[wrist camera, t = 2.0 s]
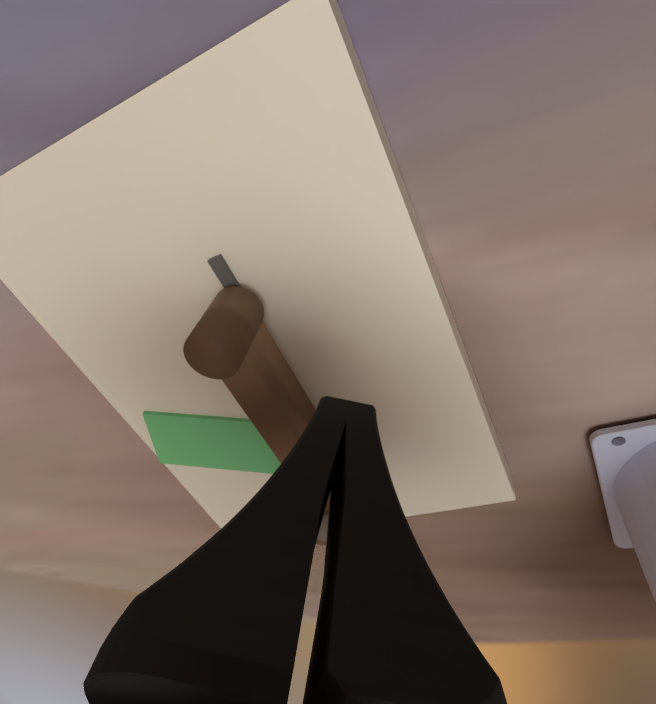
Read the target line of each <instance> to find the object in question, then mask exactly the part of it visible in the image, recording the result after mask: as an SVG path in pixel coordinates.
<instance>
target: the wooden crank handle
mask: <svg viewBox="0 0 656 704" xmlns="http://www.w3.org/2000/svg"><path fill="white" fill-rule="evenodd" d="M263 318H264V307H263V305H262V303H261V301H260V299H259V298H258V297H257V296H256V295H255V294H254V293H253V292H251V291H250V290H248V289H246V288H243V287H238V286H231V287H226V288H224V289H222V290H221V291H220V292H219V293H218V294H217V295H216V297H215V298H214V300H213V301H212V303H211V304H210V305H209V307H208V308H207V310H206V311H205V313H204V314H203V316H202V317H201V319H200V320H199V322H198V323H197V324H196V326H195V327H194V329H193V330H192V332H191V333H190V335H189V336H188V338H187V339H186V341H185V343H184V346H183V353H184V356H185V359H186V361H187V362H188V364H189V365H190V366H191V367H192V368H193V369H194V370H195V371H196V372H198V373H199V374H201V375H203V376H205V377H208V378H212V379H221V380H222V381H223V382H224V384H225V385H226V387H227V388H228V389H229V391H230V392H231V394H232V395H233V396H234V398H235V399H236V401H237V402H238V404H239V405H240V406H241V408H242V409H243V411H244V412H245V413H246V415H247V416H248V418H249V419H250V420H251V422H252V423H253V425H254V426H255V428H256V429H257V430H258V432H259V433H260V435H261V436H262V437H263V439H264V440H265V442H266V443H267V445H268V446H269V447H270V449H271V450H272V452H273V453H274V454H275V456H276V457H277V459H278V460H279V461H280V463H282V462H283V461H284V459H285V458H286V457H287V455H288V454H289V453H290V451H291V450H292V448H293V447H294V445H295V444H296V443H297V441H298V440H299V438H300V437H301V435H302V434H303V432H304V430H305V429H306V427H307V425H308V424H309V422H310V420H311V419H312V417H313V415H314V413H315V411H316V409H315V407H314V406H313V404H312V402H311V401H310V399H309V397H308V396H307V394H306V392H305V391H304V389H303V388H302V386H301V384H300V383H299V381H298V379H297V378H296V376H295V374H294V373H293V371H292V369H291V368H290V366H289V364H288V363H287V361H286V359H285V358H284V356H283V355H282V353H281V351H280V350H279V348H278V346H277V345H276V343H275V341H274V340H273V338H272V336H271V335H270V333H269V331H268V330H267V328H266V326H265V325H264V323H263V322H262V321H263ZM330 492H331V491H330ZM329 504H330V494H329V498H328V501H327V505H326V509H325V512H324V516H323V519H322V523H321V526H320V530H319V534H318V537H317V541H316V544H319V545H326V542H327V529H328V516H329Z"/></svg>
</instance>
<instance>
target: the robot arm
mask: <svg viewBox="0 0 656 704" xmlns="http://www.w3.org/2000/svg"><path fill="white" fill-rule="evenodd" d="M616 437H620V438H617V439H614V438H616ZM589 441H590V445H591V450H592V454H593V458H594V462H595V466H596V471H597V475H598V479H599V483H600V488H601V492H602V496H603V500H604V504H605V509H606V513H607V517H608V521H609V526H610V530H611V534H612V538H613V541H614V544H615V545H616V546H617V547H619V548H623V549H628V548H634V549H635V552H636V555H637V557H638V560H639V562H640V565H641V567H642V570H643V572H644V575H645V577H646V580H647V582H648V585H649V587H650V590H651V592H652V595H653V598H654V600H655V603H656V419H651V420H646V421H641V422H636V423H630V424H625V425H620V426H615V427H609V428H604V429H599V430H596V431H595V432H593V433H592V434H591V435H590V437H589ZM330 491H331V492H330ZM329 494H330V504H329V516H328V529H327V542H326V554H325V567H324V577H323V586H322V593H321V599H320V605H319V611H318V617H317V623H316V629H315V635H314V641H313V647H312V653H311V659H310V664H309V670H308V676H307V682H306V688H305V693H304V699H303V704H507V702H506V698H505V695H504V692H503V688H502V685H501V682H500V679H499V677H498V676H497V674H496V673H495V672H494V670H493V669H492V667H491V666H490V665H489V663H488V662H487V660H486V659H485V658H484V656H483V655H482V653H481V652H480V650H479V649H478V647H477V646H476V644H475V643H474V641H473V640H472V638H471V637H470V635H469V634H468V632H467V631H466V629H465V628H464V626H463V624H462V623H461V621H460V620H459V618H458V616H457V615H456V613H455V612H454V610H453V609H452V607H451V605H450V604H449V602H448V600H447V598H446V596H445V595H444V593H443V591H442V589H441V588H440V586H439V584H438V582H437V581H436V579H435V577H434V575H433V573H432V572H431V570H430V568H429V566H428V564H427V562H426V560H425V558H424V556H423V554H422V552H421V550H420V548H419V546H418V544H417V542H416V540H415V538H414V535H413V533H412V531H411V529H410V527H409V524H408V522H407V520H406V517H405V515H404V512H403V510H402V507H401V505H400V502H399V499H398V497H397V494H396V491H395V488H394V485H393V482H392V479H391V476H390V473H389V469H388V466H387V463H386V460H385V456H384V452H383V448H382V444H381V440H380V435H379V430H378V424H377V417H376V409H375V408H374V406H373V405H369V404H364V403H359V402H354V401H350V400H345V399H340V398H335V397H330V396H324V397H322V398H321V399H320V401H319V404H318V407H317V409H316V411H315V413H314V415H313V417H312V419H311V420H310V422H309V424H308V425H307V427H306V429H305V430H304V432H303V434H302V435H301V437H300V438H299V440H298V441H297V443H296V444H295V445H294V447H293V448H292V450H291V451H290V453H289V454H288V455H287V457H286V458H285V459H284V461H283V462H282V463H281V464H280V466H279V467H278V468H277V470H276V471H275V472H274V473H273V475H272V476H271V477H270V478H269V480H268V481H267V482H266V483H265V484H264V485H263V487H262V488H261V489H260V490H259V491H258V492H257V493H256V494H255V495H254V497H253V498H252V499H251V500H250V501H249V502H248V503H247V504H246V505H245V506H244V507H243V508H242V509H241V510H240V511H239V512H238V513H237V514H236V515H235V516H234V517H233V518H232V519H231V520H230V521H229V522H228V523H227V524H226V525H225V526H224V527H223V528H222V529H221V530H219V531H218V532H217V533H216V534H215V535H214V536H213V537H212V538H210V539H209V540H208V541H207V542H206V543H205V544H203V545H202V546H201V547H200V548H199V549H197V550H196V551H195V552H194V553H193V554H192V555H190V556H189V557H188V558H187V559H186V560H184V561H183V562H182V563H181V564H179V565H178V566H177V567H176V568H174V569H173V570H172V571H170V572H169V573H168V574H166V575H165V576H164V577H162V578H161V579H159V580H158V581H157V582H155V583H154V584H153V585H151V586H150V587H149V588H147V589H146V590H145V591H143V592H142V593H140V594H139V595H138V596H136V597H135V598H134V600H133V601H132V602H131V603H130V605H129V606H128V607H127V609H126V610H125V611H124V613H123V614H122V615H121V617H120V618H119V620H118V621H117V622H116V624H115V625H114V627H113V628H112V630H111V631H110V633H109V635H108V636H107V638H106V639H105V641H104V643H103V644H102V646H101V648H100V650H99V652H98V654H97V656H96V658H95V660H94V662H93V664H92V667H91V669H90V671H89V673H88V675H87V677H86V679H85V681H84V691H85V695H86V697H87V699H88V702H89V704H287V701H288V695H289V690H290V684H291V679H292V673H293V668H294V662H295V656H296V650H297V644H298V638H299V633H300V627H301V621H302V615H303V609H304V604H305V598H306V592H307V586H308V581H309V575H310V569H311V564H312V558H313V552H314V548H315V544H316V541H317V537H318V534H319V530H320V526H321V523H322V519H323V516H324V512H325V509H326V505H327V501H328V498H329Z"/></svg>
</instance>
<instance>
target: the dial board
mask: <svg viewBox="0 0 656 704" xmlns="http://www.w3.org/2000/svg"><path fill="white" fill-rule="evenodd" d="M0 279H1V280H2V281H3V282H4V284H5V285H6V286H7V287H8V288H9V289H10V290H11V292H12V293H13V294H14V295H15V296H16V297H17V298H18V299H19V301H20V302H21V303H22V304H23V305H24V306H25V307H26V309H27V310H28V311H29V312H30V313H31V314H32V315H33V316H34V318H35V319H36V320H37V321H38V322H39V323H40V324H41V325H42V327H43V328H44V329H45V330H46V331H47V332H48V333H49V335H50V336H51V337H52V338H53V339H54V340H55V341H56V342H57V344H58V345H59V346H60V347H61V348H62V349H63V350H64V351H65V353H66V354H67V355H68V356H69V357H70V358H71V359H72V361H73V362H74V363H75V364H76V365H77V366H78V367H79V368H80V370H81V371H82V372H83V373H84V374H85V375H86V376H87V378H88V379H89V380H90V381H91V382H92V383H93V384H94V385H95V387H96V388H97V389H98V390H99V391H100V392H101V393H102V394H103V396H104V397H105V398H106V399H107V400H108V401H109V402H110V404H111V405H112V406H113V407H114V408H115V409H116V410H117V411H118V413H119V414H120V415H121V416H122V417H123V418H124V419H125V420H126V422H127V423H128V424H129V425H130V426H131V427H132V428H133V430H134V431H135V432H136V433H137V434H138V435H139V436H140V437H141V439H142V440H143V441H144V442H145V443H146V444H147V445H148V447H149V448H150V449H151V450H152V451H153V452H154V453H155V454H156V456H157V457H158V460H159V463H163V464H164V465H165V466H166V467H167V468H168V469H169V470H170V471H171V473H172V474H173V475H174V476H175V477H176V478H177V479H178V480H179V482H180V483H181V484H182V485H183V486H184V487H185V488H186V490H187V491H188V492H189V493H190V494H191V495H192V496H193V497H194V499H195V500H196V501H197V502H198V503H199V504H200V505H201V506H202V508H203V509H204V510H205V511H206V512H207V513H208V514H209V516H210V517H211V518H212V519H213V520H214V521H215V522H216V523H217V525H218V526H219V527H220V528H221V529H222V528H223V527H224V526H225V525H226V524H227V523H228V522H229V521H230V520H231V519H232V518H233V517H234V516H235V515H236V514H237V513H238V512H239V511H240V510H241V509H242V508H243V507H244V506H245V505H246V504H247V503H248V502H249V501H250V500H251V499H252V498H253V497H254V495H255V494H256V493H257V492H258V491H259V490H260V489H261V488H262V487H263V485H264V484H265V483H266V482H267V481H268V480H269V478H270V477H271V476H272V475H273V473H274V472H275V471H276V470H277V468H278V467H279V466H280V464H281V463H280V461H279V460H278V459H277V457H276V456H275V454H274V453H273V452H272V450H271V449H270V447H269V446H268V445H267V443H266V442H265V440H264V439H263V437H262V436H261V435H260V433H259V432H258V430H257V429H256V428H255V426H254V425H253V423H252V422H251V420H250V419H249V418H248V416H247V415H246V413H245V412H244V411H243V409H242V408H241V406H240V405H239V404H238V402H237V401H236V399H235V398H234V396H233V395H232V394H231V392H230V391H229V389H228V388H227V387H226V385H225V384H224V382H223V381H222V380H221V379H212V378H208V377H205V376H203V375H201V374H199V373H198V372H196V371H195V370H194V369H193V368H192V367H191V366H190V365H189V364H188V362H187V361H186V359H185V356H184V353H183V346H184V343H185V341H186V339H187V338H188V336H189V335H190V333H191V332H192V330H193V329H194V327H195V326H196V324H197V323H198V322H199V320H200V319H201V317H202V316H203V314H204V313H205V311H206V310H207V308H208V307H209V305H210V304H211V303H212V301H213V300H214V298H215V297H216V295H217V294H218V293H219V292H220V291H221V290H222V289H224V288H226V287H231V286H238V287H243V288H246V289H248V290H250V291H251V292H253V293H254V294H255V295H256V296H257V297H258V298H259V299H260V301H261V303H262V305H263V307H264V318H263V321H262V322H263V323H264V325H265V326H266V328H267V330H268V331H269V333H270V335H271V336H272V338H273V340H274V341H275V343H276V345H277V346H278V348H279V350H280V351H281V353H282V355H283V356H284V358H285V359H286V361H287V363H288V364H289V366H290V368H291V369H292V371H293V373H294V374H295V376H296V378H297V379H298V381H299V383H300V384H301V386H302V388H303V389H304V391H305V392H306V394H307V396H308V397H309V399H310V401H311V402H312V404H313V406H314V407H315V409H317V407H318V404H319V401H320V399H321V398H322V397H324V396H330V397H335V398H340V399H345V400H350V401H354V402H359V403H364V404H369V405H373V406H374V408H375V409H376V417H377V424H378V430H379V435H380V440H381V444H382V448H383V452H384V456H385V460H386V463H387V466H388V469H389V473H390V476H391V479H392V482H393V485H394V488H395V491H396V494H397V497H398V499H399V502H400V505H401V507H402V510H403V512H404V515H405V517H408V516H414V515H421V514H428V513H434V512H441V511H447V510H454V509H461V508H467V507H474V506H480V505H487V504H494V503H500V502H507V501H513V500H516V497H515V492H514V487H513V482H512V477H511V473H510V470H509V467H508V464H507V462H506V459H505V456H504V454H503V451H502V448H501V445H500V443H499V440H498V437H497V435H496V432H495V429H494V426H493V424H492V421H491V418H490V416H489V413H488V410H487V407H486V405H485V402H484V399H483V397H482V394H481V391H480V388H479V386H478V383H477V380H476V378H475V375H474V372H473V369H472V367H471V364H470V361H469V359H468V356H467V353H466V350H465V348H464V345H463V342H462V340H461V337H460V334H459V331H458V329H457V326H456V323H455V321H454V318H453V315H452V312H451V310H450V307H449V304H448V302H447V299H446V296H445V293H444V291H443V288H442V285H441V283H440V280H439V277H438V274H437V272H436V269H435V266H434V263H433V261H432V258H431V255H430V253H429V250H428V247H427V244H426V242H425V239H424V236H423V234H422V231H421V228H420V225H419V223H418V220H417V217H416V215H415V212H414V209H413V206H412V204H411V201H410V198H409V196H408V193H407V190H406V187H405V185H404V182H403V179H402V177H401V174H400V171H399V168H398V166H397V163H396V160H395V158H394V155H393V152H392V149H391V147H390V144H389V141H388V139H387V136H386V133H385V130H384V128H383V125H382V122H381V120H380V117H379V114H378V111H377V109H376V106H375V103H374V101H373V98H372V95H371V92H370V90H369V87H368V84H367V82H366V79H365V76H364V73H363V71H362V68H361V65H360V63H359V60H358V57H357V54H356V52H355V49H354V46H353V44H352V41H351V38H350V35H349V33H348V30H347V27H346V24H345V22H344V19H343V16H342V14H341V11H340V8H339V5H338V3H337V0H291V1H289V2H287V3H286V4H284V5H282V6H281V7H279V8H277V9H276V10H274V11H272V12H271V13H269V14H268V15H266V16H264V17H263V18H261V19H259V20H258V21H256V22H254V23H253V24H251V25H249V26H248V27H246V28H244V29H243V30H241V31H239V32H238V33H236V34H234V35H233V36H231V37H230V38H228V39H226V40H225V41H223V42H221V43H220V44H218V45H216V46H215V47H213V48H211V49H210V50H208V51H206V52H205V53H203V54H201V55H200V56H198V57H196V58H195V59H193V60H192V61H190V62H188V63H187V64H185V65H183V66H182V67H180V68H178V69H177V70H175V71H173V72H172V73H170V74H168V75H167V76H165V77H163V78H162V79H160V80H159V81H157V82H155V83H154V84H152V85H150V86H149V87H147V88H145V89H144V90H142V91H140V92H139V93H137V94H135V95H134V96H132V97H130V98H129V99H127V100H125V101H124V102H122V103H121V104H119V105H117V106H116V107H114V108H112V109H111V110H109V111H107V112H106V113H104V114H102V115H101V116H99V117H97V118H96V119H94V120H92V121H91V122H89V123H87V124H86V125H84V126H83V127H81V128H79V129H78V130H76V131H74V132H73V133H71V134H69V135H68V136H66V137H64V138H63V139H61V140H59V141H58V142H56V143H54V144H53V145H51V146H49V147H48V148H46V149H45V150H43V151H41V152H40V153H38V154H36V155H35V156H33V157H31V158H30V159H28V160H26V161H25V162H23V163H21V164H20V165H18V166H16V167H15V168H13V169H11V170H10V171H8V172H7V173H5V174H3V175H2V176H0Z"/></svg>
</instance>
